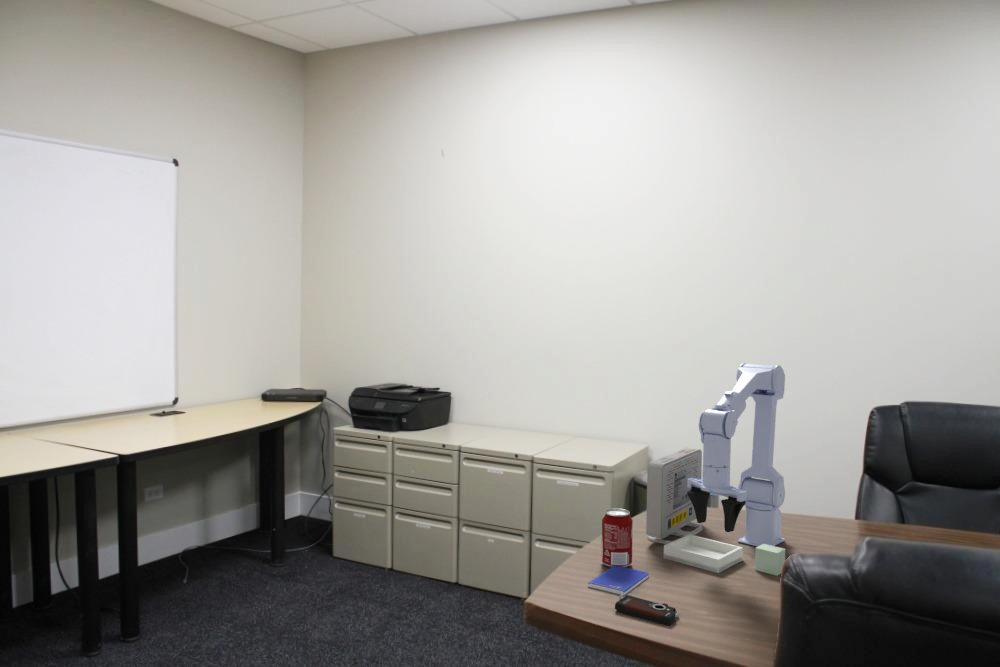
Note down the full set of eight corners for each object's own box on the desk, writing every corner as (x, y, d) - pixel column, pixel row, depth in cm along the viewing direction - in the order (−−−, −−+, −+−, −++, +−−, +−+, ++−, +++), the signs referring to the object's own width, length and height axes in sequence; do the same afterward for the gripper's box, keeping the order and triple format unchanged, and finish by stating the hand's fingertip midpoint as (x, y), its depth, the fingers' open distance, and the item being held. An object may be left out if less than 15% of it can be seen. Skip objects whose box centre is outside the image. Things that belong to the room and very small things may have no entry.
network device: (678, 518, 208) (680, 445, 207) (710, 524, 202) (712, 449, 201) (637, 543, 187) (638, 461, 186) (671, 550, 182) (672, 466, 181)
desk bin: (689, 546, 184) (689, 534, 184) (742, 560, 175) (742, 547, 175) (663, 558, 176) (663, 545, 176) (718, 573, 167) (718, 559, 166)
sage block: (762, 565, 172) (763, 543, 172) (784, 571, 169) (785, 548, 168) (754, 570, 169) (755, 547, 169) (777, 575, 166) (777, 553, 165)
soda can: (631, 571, 167) (632, 516, 167) (600, 568, 169) (601, 514, 168) (632, 561, 174) (633, 508, 173) (602, 558, 175) (602, 506, 175)
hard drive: (624, 590, 154) (648, 572, 164) (587, 581, 158) (613, 564, 169) (624, 598, 154) (648, 579, 164) (587, 588, 158) (613, 571, 169)
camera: (629, 590, 151) (683, 605, 145) (628, 604, 151) (681, 619, 145) (615, 597, 146) (670, 613, 140) (614, 612, 146) (668, 628, 139)
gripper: (678, 461, 170) (677, 521, 171) (731, 473, 158) (730, 538, 159) (699, 457, 174) (698, 516, 175) (753, 469, 163) (751, 532, 163)
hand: (715, 526), depth 167 cm, fingers open, 7 cm apart
